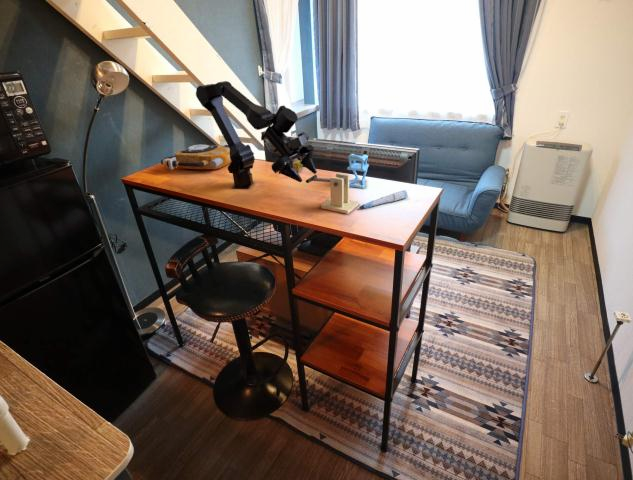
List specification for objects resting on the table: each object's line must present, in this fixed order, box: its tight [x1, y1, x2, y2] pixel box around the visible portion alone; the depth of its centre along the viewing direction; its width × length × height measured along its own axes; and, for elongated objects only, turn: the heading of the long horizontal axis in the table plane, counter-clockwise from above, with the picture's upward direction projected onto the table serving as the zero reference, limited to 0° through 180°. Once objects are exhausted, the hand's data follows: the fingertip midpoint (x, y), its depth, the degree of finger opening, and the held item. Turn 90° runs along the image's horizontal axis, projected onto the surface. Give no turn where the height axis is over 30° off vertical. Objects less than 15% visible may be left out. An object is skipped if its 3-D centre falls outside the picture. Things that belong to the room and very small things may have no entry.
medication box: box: [292, 159, 304, 173], centre depth 152 cm, size 12×3×4 cm, turn 171°
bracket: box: [320, 172, 359, 215], centre depth 114 cm, size 10×8×11 cm
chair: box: [346, 153, 370, 189], centre depth 131 cm, size 8×8×12 cm
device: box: [160, 144, 232, 170], centre depth 158 cm, size 23×8×30 cm
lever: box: [305, 174, 345, 185], centre depth 114 cm, size 13×6×2 cm, turn 58°
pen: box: [358, 189, 409, 209], centre depth 116 cm, size 19×3×3 cm, turn 118°
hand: (308, 177), depth 118 cm, fingers open, 9 cm apart
